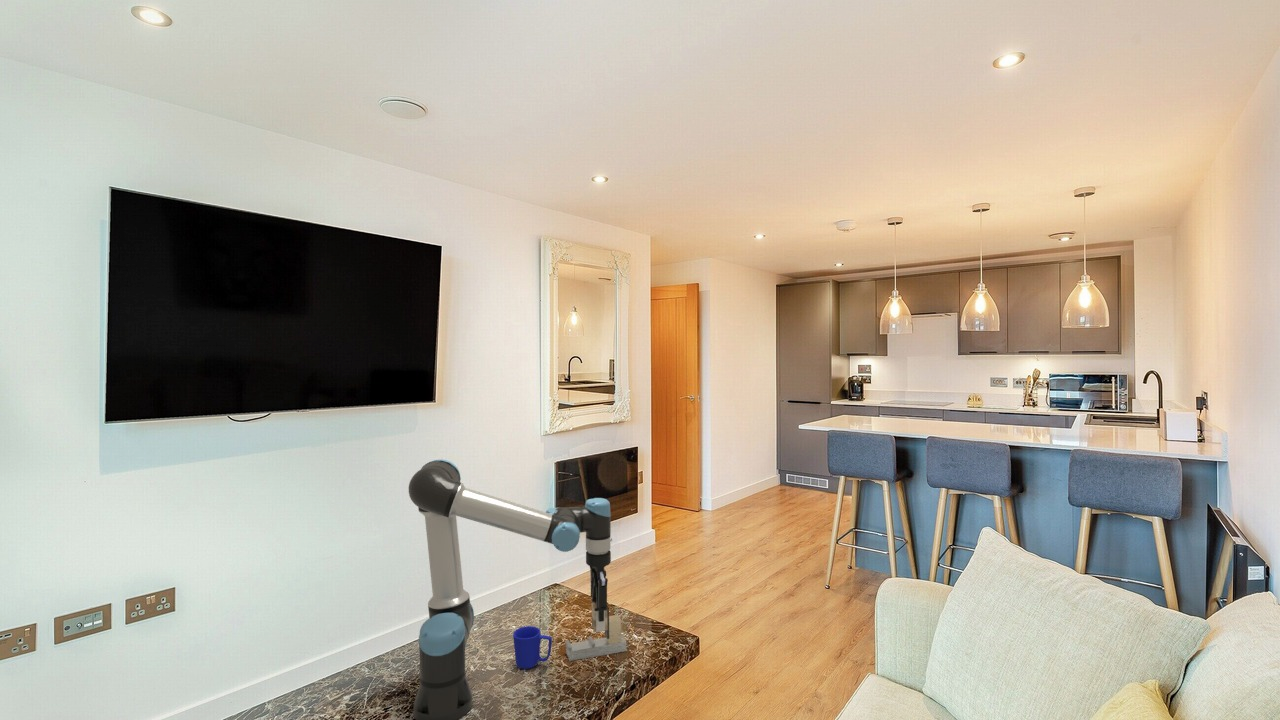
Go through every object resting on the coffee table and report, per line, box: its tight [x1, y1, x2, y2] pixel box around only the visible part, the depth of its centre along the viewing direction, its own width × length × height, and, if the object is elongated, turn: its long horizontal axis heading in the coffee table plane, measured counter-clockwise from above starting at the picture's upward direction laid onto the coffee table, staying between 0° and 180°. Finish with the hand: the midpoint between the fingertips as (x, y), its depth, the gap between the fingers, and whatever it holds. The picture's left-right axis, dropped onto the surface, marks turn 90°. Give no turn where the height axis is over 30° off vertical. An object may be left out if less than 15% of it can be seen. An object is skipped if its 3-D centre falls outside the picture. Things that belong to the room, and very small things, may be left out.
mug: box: [512, 625, 553, 670], centre depth 179 cm, size 8×12×10 cm
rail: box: [564, 614, 627, 662], centre depth 187 cm, size 19×5×10 cm, turn 108°
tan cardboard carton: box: [590, 602, 610, 633], centre depth 177 cm, size 5×4×7 cm
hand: (598, 627), depth 177 cm, fingers closed on tan cardboard carton, 4 cm apart
